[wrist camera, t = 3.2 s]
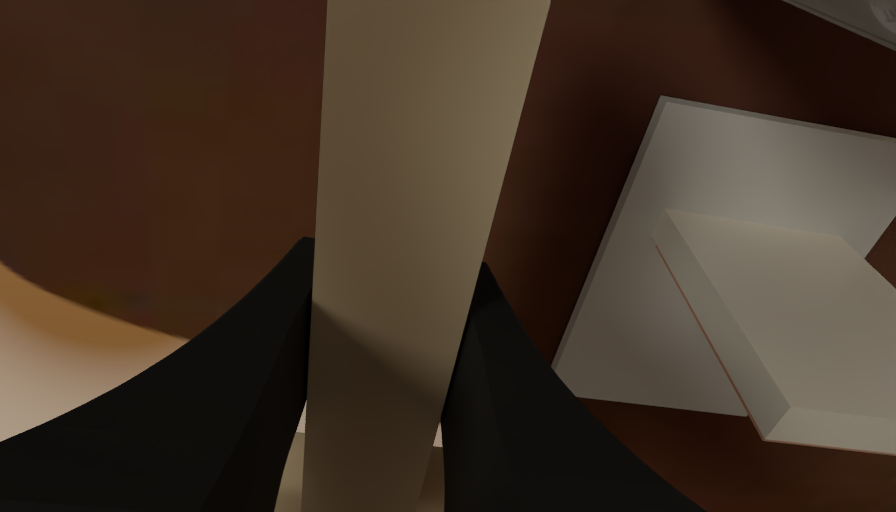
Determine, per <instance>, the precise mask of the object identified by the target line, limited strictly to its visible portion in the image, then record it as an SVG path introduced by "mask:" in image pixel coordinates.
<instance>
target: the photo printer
mask: <svg viewBox="0 0 896 512" xmlns="http://www.w3.org/2000/svg"><path fill="white" fill-rule="evenodd" d="M782 1H785V2H787V3H790V4H792V5H794V6H796V7H798V8H801V9H803V10H805V11H808V12H810V13H812V14H814V15H816V16H819V17H821V18H823V19H825V20H827V21H829V22H832V23H834V24H836V25H838V26H841V27H843V28H845V29H848V30H850V31H852V32H854V33H857V34H859V35H861V36H864V37H866V38H868V39H871V40H873V41H875V42H877V43H879V44H881V45H883V46H885V47H888V48H890V49H892V50H895V51H896V0H782Z"/></svg>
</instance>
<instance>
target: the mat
mask: <svg viewBox="0 0 896 512" xmlns="http://www.w3.org/2000/svg"><path fill="white" fill-rule="evenodd" d="M664 209H670V210H677V211H683V212H689V213H695V214H702V215H708V216H714V217H721V218H727V219H733V220H740V221H746V222H752V223H759V224H765V225H771V226H778V227H784V228H790V229H797V230H803V231H809V232H816V233H822V234H828V235H835V236H840V237H841V238H842V239H843V240H845V241H846V242H847V243H848V244H849V245H850V246H851V247H852V248H853V249H854V250H855V251H856V252H857V253H858V254H859V255H860V256H861V257H862V258H863V259H864V258H865V256H866V255H867V254H868V252H869V251H870V250H871V248H872V247H873V246H874V244H875V243H876V242H877V240H878V239H879V238H880V236H881V235H882V234H883V232H884V231H885V229H886V228H887V227H888V225H889V224H890V223H891V221H892V220H893V219H894V217H895V216H896V138H892V137H887V136H881V135H876V134H870V133H865V132H859V131H854V130H848V129H843V128H837V127H832V126H826V125H821V124H815V123H810V122H804V121H799V120H793V119H788V118H782V117H777V116H771V115H766V114H760V113H755V112H749V111H744V110H738V109H733V108H727V107H722V106H716V105H711V104H705V103H700V102H694V101H689V100H683V99H678V98H672V97H667V96H660V98H659V101H658V103H657V106H656V108H655V111H654V113H653V116H652V118H651V121H650V123H649V125H648V128H647V130H646V133H645V135H644V138H643V140H642V143H641V145H640V148H639V150H638V153H637V155H636V158H635V160H634V162H633V165H632V167H631V170H630V172H629V175H628V177H627V180H626V182H625V185H624V187H623V190H622V192H621V195H620V197H619V199H618V202H617V204H616V207H615V209H614V212H613V214H612V217H611V219H610V222H609V224H608V227H607V229H606V231H605V234H604V236H603V239H602V241H601V244H600V246H599V249H598V251H597V254H596V256H595V259H594V261H593V264H592V266H591V268H590V271H589V273H588V276H587V278H586V281H585V283H584V286H583V288H582V291H581V293H580V296H579V298H578V301H577V303H576V305H575V308H574V310H573V313H572V315H571V318H570V320H569V323H568V325H567V328H566V330H565V333H564V335H563V338H562V340H561V342H560V345H559V347H558V350H557V352H556V355H555V357H554V360H553V362H552V365H551V367H552V369H553V370H554V371H555V373H556V374H557V375H558V376H559V378H560V379H561V380H562V381H563V382H564V384H565V385H566V386H567V387H568V388H569V389H570V390H571V392H572V393H573V394H574V395H575V396H576V397H582V398H591V399H599V400H608V401H617V402H625V403H634V404H642V405H651V406H659V407H668V408H677V409H685V410H694V411H702V412H711V413H720V414H728V415H737V416H745V417H747V415H748V413H747V411H746V410H745V408H744V406H743V404H742V402H741V401H740V399H739V397H738V395H737V393H736V392H735V390H734V388H733V386H732V384H731V383H730V381H729V379H728V377H727V375H726V373H725V372H724V370H723V368H722V366H721V364H720V363H719V361H718V359H717V357H716V355H715V354H714V352H713V350H712V348H711V346H710V344H709V343H708V341H707V339H706V337H705V335H704V334H703V332H702V330H701V328H700V326H699V325H698V323H697V321H696V319H695V317H694V315H693V314H692V312H691V310H690V308H689V306H688V305H687V303H686V301H685V299H684V297H683V296H682V294H681V292H680V290H679V288H678V287H677V285H676V283H675V281H674V279H673V277H672V276H671V274H670V272H669V270H668V268H667V267H666V265H665V263H664V261H663V259H662V258H661V256H660V254H659V252H658V250H657V248H656V247H655V246H656V243H655V241H654V239H653V237H652V234H653V232H654V230H655V228H656V226H657V224H658V221H659V219H660V217H661V215H662V213H663V211H664Z"/></svg>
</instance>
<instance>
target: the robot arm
mask: <svg viewBox="0 0 896 512" xmlns="http://www.w3.org/2000/svg"><path fill="white" fill-rule="evenodd" d="M314 253H315V238H309V237H303V238H301V239H300V240H298V241H297V243H296V244H295V245H294V246H293V247H292V249H291V250H290V251H289V252H288V253H287V254H286V255H285V257H284V258H283V259H282V260H281V261H280V262H279V263H278V264H277V265H276V266H275V267H274V268H273V269H272V270H271V271H270V272H269V273H268V274H267V275H266V276H265V277H264V278H263V279H262V280H261V281H260V282H259V283H258V284H257V285H256V286H255V287H254V288H253V289H252V290H251V291H250V292H249V293H248V294H247V295H245V296H244V297H243V298H242V299H241V300H240V301H239V302H238V303H236V304H235V305H234V306H233V307H232V308H230V309H229V310H228V311H227V312H226V313H225V314H223V315H222V316H221V317H220V318H219V319H217V320H216V321H215V322H214V323H213V324H211V325H210V326H209V327H207V328H206V329H205V330H204V331H202V332H201V333H200V334H198V335H197V336H196V337H194V338H193V339H191V340H190V341H189V342H187V343H186V344H184V345H183V346H181V347H180V348H179V349H177V350H176V351H174V352H173V353H171V354H170V355H168V356H167V357H165V358H164V359H162V360H160V361H159V362H157V363H156V364H154V365H153V366H151V367H149V368H148V369H146V370H145V371H143V372H141V373H140V374H138V375H137V376H135V377H133V378H131V379H130V380H128V381H126V382H125V383H123V384H121V385H119V386H118V387H116V388H114V389H112V390H110V391H108V392H106V393H104V394H102V395H101V396H99V397H97V398H95V399H93V400H91V401H89V402H87V403H85V404H83V405H81V406H79V407H77V408H75V409H73V410H71V411H69V412H67V413H65V414H63V415H61V416H58V417H57V418H54V419H52V420H50V421H48V422H46V423H44V424H41V425H39V426H36V427H34V428H32V429H30V430H27V431H25V432H23V433H20V434H18V435H15V436H13V437H11V438H8V439H6V440H4V441H1V442H0V512H274V510H275V506H276V501H277V497H278V493H279V488H280V484H281V480H282V475H283V472H284V468H285V465H286V461H287V458H288V454H289V451H290V448H291V445H292V442H293V439H294V436H295V433H296V430H297V427H298V424H299V421H300V418H301V415H302V412H303V409H304V406H305V402H306V400H307V386H308V367H309V348H310V329H311V310H312V291H313V272H314ZM441 431H442V445H443V460H444V484H445V496H444V512H706V511H705V510H704V509H702V508H701V507H700V506H698V505H697V504H696V503H694V502H693V501H692V500H690V499H689V498H687V497H686V496H685V495H683V494H682V493H681V492H679V491H678V490H677V489H675V488H674V487H673V486H671V485H670V484H669V483H668V482H666V481H665V480H664V479H663V478H662V477H660V476H659V475H658V474H657V473H656V472H654V471H653V470H652V469H651V468H650V467H648V466H647V465H646V464H645V463H644V462H642V461H641V460H640V459H639V458H638V457H637V456H635V455H634V454H633V453H632V452H631V451H630V450H629V449H628V448H627V447H625V446H624V445H623V444H622V443H621V442H620V441H619V440H618V439H617V438H616V437H615V436H614V435H613V434H612V433H611V432H610V431H609V430H608V429H607V428H606V427H605V426H603V425H602V424H601V423H600V422H599V421H598V420H597V419H596V418H595V417H594V416H593V415H592V414H591V413H590V411H589V410H588V409H587V408H586V407H585V406H584V405H583V404H582V403H581V402H580V401H579V400H578V398H577V397H576V396H575V395H574V394H573V393H572V392H571V390H570V389H569V388H568V387H567V386H566V385H565V384H564V382H563V381H562V380H561V379H560V378H559V376H558V375H557V374H556V373H555V371H554V370H553V369H552V367H551V366H550V365H549V363H548V362H547V361H546V359H545V358H544V356H543V355H542V354H541V352H540V351H539V350H538V348H537V347H536V345H535V344H534V342H533V341H532V339H531V338H530V336H529V335H528V333H527V332H526V330H525V329H524V327H523V325H522V324H521V322H520V321H519V319H518V318H517V316H516V314H515V313H514V311H513V309H512V308H511V306H510V304H509V303H508V301H507V299H506V297H505V296H504V294H503V292H502V290H501V288H500V287H499V285H498V283H497V281H496V279H495V277H494V275H493V273H492V272H491V270H490V268H489V266H488V265H487V264H486V262H482V263H481V266H480V270H479V274H478V278H477V281H476V285H475V289H474V293H473V297H472V300H471V304H470V308H469V312H468V315H467V319H466V323H465V327H464V330H463V334H462V338H461V342H460V346H459V349H458V353H457V357H456V361H455V364H454V368H453V372H452V376H451V380H450V383H449V387H448V391H447V395H446V398H445V402H444V406H443V410H442V414H441Z"/></svg>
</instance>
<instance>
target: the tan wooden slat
mask: <svg viewBox="0 0 896 512" xmlns="http://www.w3.org/2000/svg"><path fill="white" fill-rule="evenodd" d="M550 2H551V0H328V6H327V25H326V44H325V63H324V82H323V101H322V120H321V139H320V158H319V177H318V196H317V215H316V234H315V253H314V272H313V291H312V310H311V329H310V348H309V367H308V386H307V405H306V424H305V433H299V432H296V433H295V436H294V439H293V442H292V445H291V448H290V451H289V454H288V458H287V461H286V465H285V468H284V472H283V475H282V480H281V484H280V488H279V493H278V497H277V501H276V506H275V510H274V512H444V496H445V484H444V460H443V447H434V446H433V444H434V440H435V436H436V432H437V428H438V425H439V421H440V417H441V414H442V410H443V406H444V402H445V398H446V395H447V391H448V387H449V383H450V380H451V376H452V372H453V368H454V364H455V361H456V357H457V353H458V349H459V346H460V342H461V338H462V334H463V330H464V327H465V323H466V319H467V315H468V312H469V308H470V304H471V300H472V297H473V293H474V289H475V285H476V281H477V278H478V274H479V270H480V266H481V263H482V259H483V255H484V251H485V247H486V244H487V240H488V236H489V232H490V229H491V225H492V221H493V217H494V213H495V210H496V206H497V202H498V198H499V195H500V191H501V187H502V183H503V179H504V176H505V172H506V168H507V164H508V161H509V157H510V153H511V149H512V145H513V142H514V138H515V134H516V130H517V127H518V123H519V119H520V115H521V111H522V108H523V104H524V100H525V96H526V93H527V89H528V85H529V81H530V77H531V74H532V70H533V66H534V62H535V59H536V55H537V51H538V47H539V44H540V40H541V36H542V32H543V28H544V25H545V21H546V17H547V13H548V10H549V6H550Z"/></svg>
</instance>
